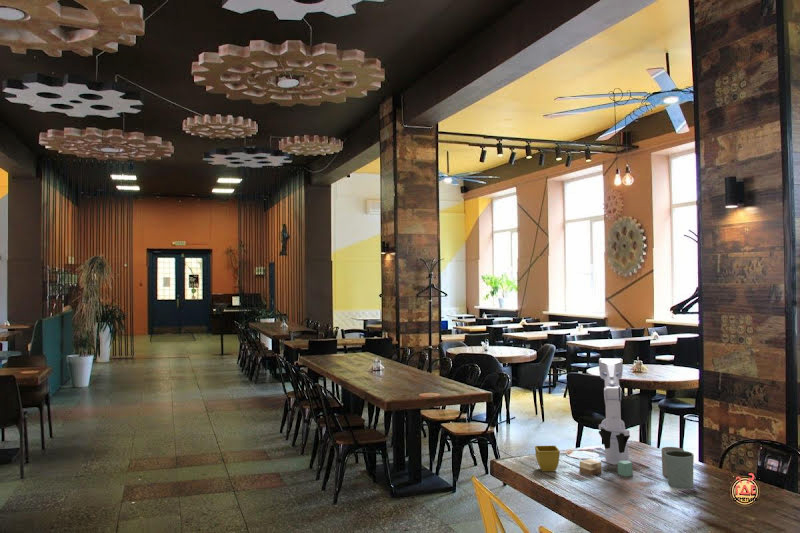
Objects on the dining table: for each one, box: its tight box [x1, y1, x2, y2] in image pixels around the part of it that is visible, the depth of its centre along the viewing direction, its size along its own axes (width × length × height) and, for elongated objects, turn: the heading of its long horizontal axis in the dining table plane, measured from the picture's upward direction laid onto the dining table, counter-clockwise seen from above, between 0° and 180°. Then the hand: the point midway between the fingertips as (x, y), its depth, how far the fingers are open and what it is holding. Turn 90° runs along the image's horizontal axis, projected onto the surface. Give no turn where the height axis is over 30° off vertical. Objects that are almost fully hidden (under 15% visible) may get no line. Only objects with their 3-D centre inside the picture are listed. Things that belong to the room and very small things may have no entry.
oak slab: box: [579, 458, 602, 470], centre depth 269 cm, size 6×6×2 cm
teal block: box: [617, 460, 634, 477], centre depth 264 cm, size 4×4×5 cm
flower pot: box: [534, 445, 561, 472], centre depth 273 cm, size 9×9×9 cm
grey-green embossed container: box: [665, 450, 695, 490], centre depth 249 cm, size 10×10×12 cm
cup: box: [661, 446, 685, 478], centre depth 262 cm, size 8×8×10 cm
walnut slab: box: [579, 466, 602, 476], centre depth 269 cm, size 6×6×2 cm
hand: (614, 450), depth 265 cm, fingers open, 7 cm apart
